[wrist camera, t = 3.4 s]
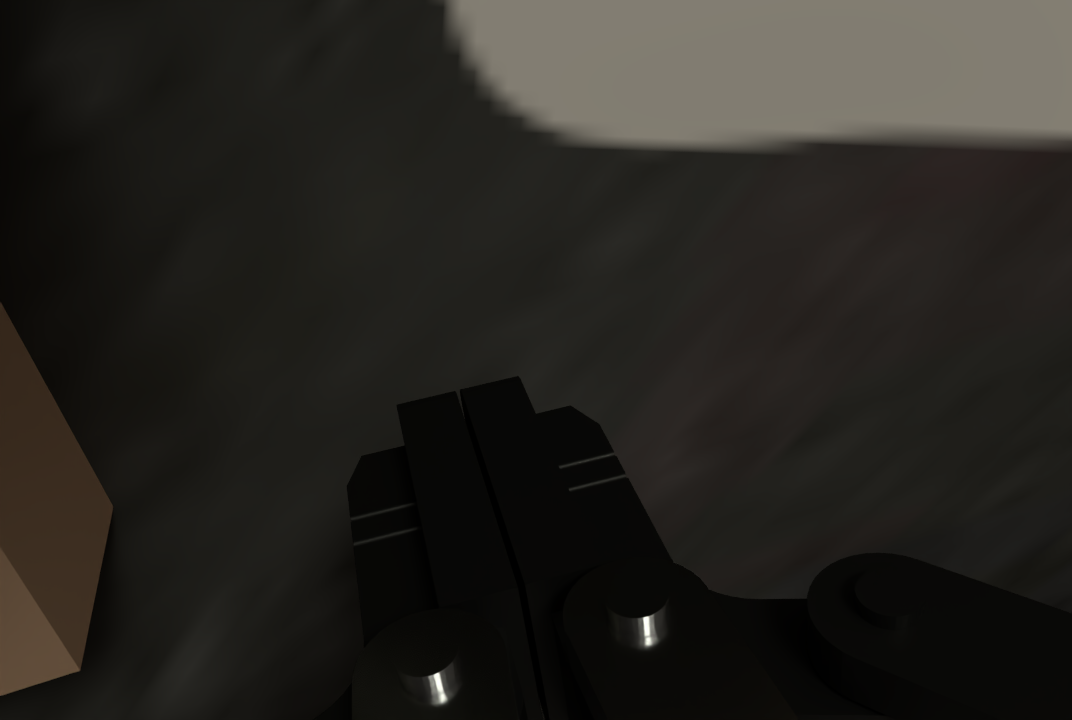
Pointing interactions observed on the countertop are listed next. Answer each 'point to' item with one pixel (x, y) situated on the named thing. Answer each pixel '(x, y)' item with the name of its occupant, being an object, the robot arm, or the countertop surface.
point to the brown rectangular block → (43, 527)
